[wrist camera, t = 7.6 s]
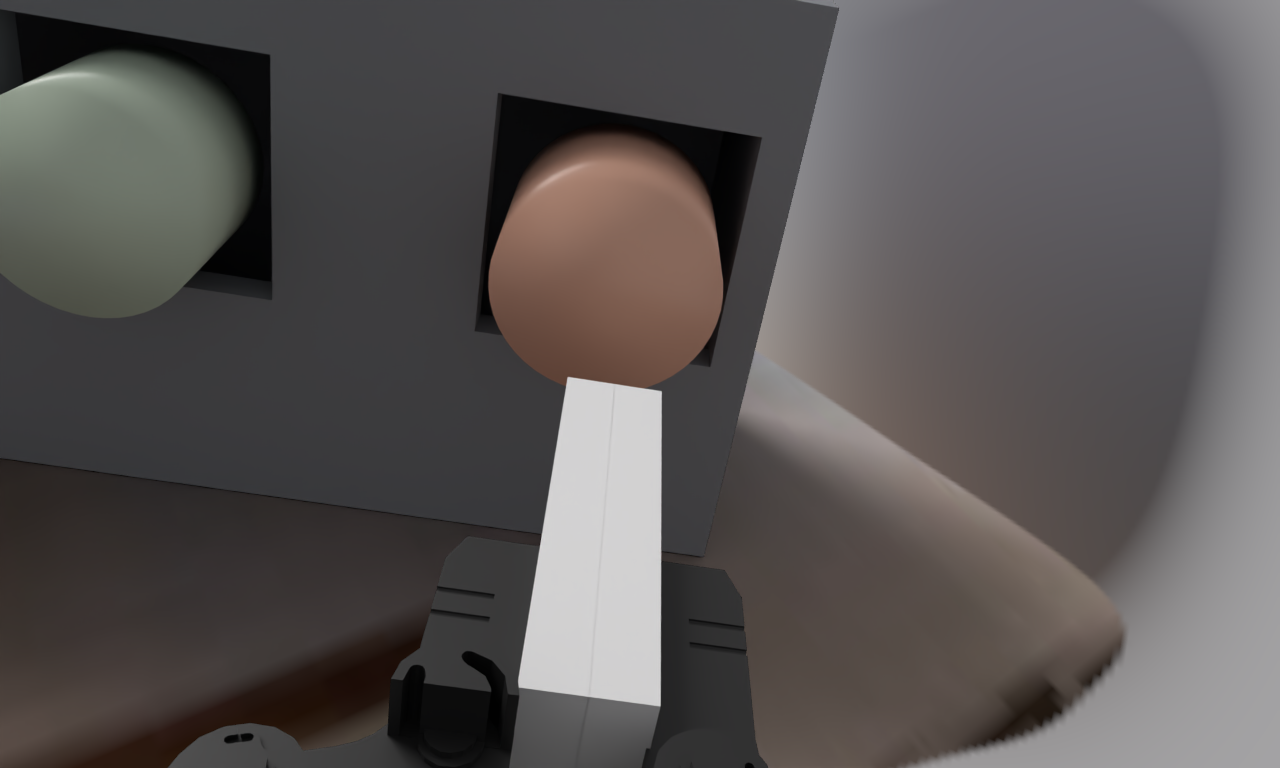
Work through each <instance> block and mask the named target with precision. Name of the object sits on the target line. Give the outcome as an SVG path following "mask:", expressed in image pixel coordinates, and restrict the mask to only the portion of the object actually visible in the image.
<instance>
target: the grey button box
mask: <svg viewBox="0 0 1280 768" xmlns="http://www.w3.org/2000/svg"><path fill="white" fill-rule="evenodd" d="M838 11H839V7H838V6H837V5H836V3H834V1H833V0H0V95H1V94H4V93H6V92H8V91H10V90H12V89H14V88H16V87H19V86H21V85H23V84H25V83H27V82H29V81H32V80H34V79H36V78H38V77H40V76H42V75H44V74H47V73H49V72H51V71H53V70H55V69H57V68H60V67H62V66H64V65H66V64H68V63H70V62H72V61H75V60H77V59H79V58H81V57H83V56H85V55H88V54H90V53H92V52H94V51H96V50H99V49H102V48H105V47H108V46H112V45H118V44H129V43H139V44H149V45H155V46H159V47H163V48H167V49H170V50H172V51H175V52H178V53H181V54H183V55H185V56H187V57H189V58H191V59H193V60H195V61H196V62H198V63H199V64H201V65H202V66H204V67H206V68H207V69H208V70H210V71H211V72H212V73H213V74H215V75H216V76H217V77H218V78H220V79H221V80H222V81H223V82H224V83H225V84H226V85H227V86H228V87H229V88H230V89H231V91H232V92H233V93H234V94H235V96H236V97H237V98H238V99H239V100H240V102H241V103H242V105H243V106H244V108H245V110H246V111H247V113H248V114H249V116H250V118H251V120H252V122H253V125H254V127H255V129H256V132H257V135H258V138H259V140H260V145H261V149H262V154H263V165H264V172H263V183H262V188H261V193H260V195H259V198H258V201H257V204H256V206H255V207H254V209H253V211H252V213H251V214H250V216H249V217H248V218H247V219H246V221H245V222H244V223H243V224H242V225H241V226H240V227H239V229H238V230H237V231H236V232H235V233H234V234H233V235H232V236H231V237H230V238H229V239H228V240H227V241H226V242H225V243H224V244H223V245H222V246H221V247H220V248H219V249H218V250H217V251H216V253H215V254H214V255H213V256H212V257H211V258H210V259H209V260H208V261H207V262H206V263H205V264H204V265H203V266H202V267H201V268H200V269H199V270H198V271H197V272H196V273H195V274H194V276H193V277H192V278H191V279H190V280H189V281H188V282H187V283H186V284H185V285H184V286H183V287H182V288H181V289H180V290H179V291H178V292H177V293H176V294H175V295H174V296H173V297H171V298H170V299H169V300H168V301H166V302H165V303H163V304H162V305H160V306H158V307H156V308H154V309H152V310H150V311H147V312H145V313H141V314H138V315H134V316H129V317H122V318H96V317H87V316H82V315H77V314H73V313H70V312H67V311H63V310H60V309H57V308H55V307H53V306H50V305H48V304H46V303H43V302H41V301H40V300H38V299H36V298H34V297H32V296H31V295H29V294H27V293H26V292H24V291H23V290H21V289H20V288H18V287H17V286H15V285H14V284H13V283H12V282H10V281H9V280H8V279H7V278H6V277H4V276H3V275H2V274H1V273H0V458H4V459H11V460H19V461H26V462H33V463H40V464H47V465H54V466H61V467H68V468H75V469H83V470H90V471H97V472H104V473H111V474H118V475H125V476H132V477H139V478H147V479H154V480H161V481H168V482H175V483H182V484H189V485H196V486H203V487H211V488H218V489H225V490H232V491H239V492H246V493H253V494H260V495H267V496H275V497H282V498H289V499H296V500H303V501H310V502H317V503H324V504H331V505H339V506H346V507H353V508H360V509H367V510H374V511H381V512H388V513H395V514H403V515H410V516H417V517H424V518H431V519H438V520H445V521H452V522H459V523H467V524H474V525H481V526H488V527H495V528H502V529H509V530H516V531H523V532H531V533H538V534H542V531H543V525H544V519H545V513H546V507H547V501H548V495H549V489H550V483H551V476H552V470H553V464H554V458H555V452H556V446H557V440H558V434H559V427H560V421H561V415H562V409H563V403H564V397H565V391H566V386H564V385H561V384H559V383H557V382H555V381H553V380H550V379H548V378H547V377H545V376H543V375H542V374H540V373H538V372H537V371H535V370H534V369H533V368H532V367H530V366H529V365H528V364H527V363H525V362H524V361H523V360H522V359H521V358H520V357H519V356H518V355H517V354H516V353H515V352H514V350H513V349H512V348H511V347H510V345H509V344H508V343H507V341H506V340H505V338H504V336H503V335H502V333H501V331H500V329H499V327H498V325H497V323H496V320H495V318H494V315H493V312H492V308H491V304H490V298H489V289H488V282H489V269H490V264H491V259H492V256H493V253H494V250H495V247H496V244H497V241H498V238H499V235H500V232H501V230H502V227H503V224H504V221H505V218H506V216H507V213H508V210H509V207H510V204H511V202H512V199H513V196H514V193H515V190H516V188H517V185H518V182H519V180H520V178H521V176H522V174H523V172H524V171H525V169H526V168H527V166H528V165H529V163H530V162H531V161H532V160H533V158H534V157H535V156H536V155H537V154H538V153H539V152H540V151H541V150H542V149H543V148H545V147H546V146H547V145H548V144H549V143H551V142H552V141H554V140H555V139H557V138H559V137H560V136H562V135H564V134H566V133H569V132H571V131H573V130H576V129H579V128H582V127H586V126H591V125H597V124H613V123H615V124H625V125H632V126H636V127H640V128H644V129H646V130H649V131H652V132H654V133H656V134H658V135H660V136H662V137H664V138H666V139H668V140H669V141H670V142H672V143H673V144H675V145H676V146H677V147H679V148H680V149H681V150H682V151H683V152H684V153H685V154H686V155H687V156H688V157H689V158H690V159H691V160H692V161H693V163H694V164H695V165H696V166H697V168H698V169H699V171H700V173H701V174H702V176H703V178H704V180H705V182H706V184H707V186H708V189H709V191H710V195H711V199H712V202H713V209H714V216H715V224H716V231H717V239H718V247H719V254H720V262H721V270H722V277H723V299H722V306H721V311H720V315H719V318H718V321H717V324H716V326H715V328H714V331H713V333H712V335H711V337H710V338H709V340H708V342H707V343H706V345H705V346H704V348H703V349H702V350H701V351H700V352H699V354H698V355H697V356H696V357H695V358H694V359H693V360H692V361H691V362H690V363H689V364H688V365H687V366H686V367H684V368H683V369H682V370H680V371H679V372H677V373H676V374H674V375H673V376H671V377H669V378H668V379H666V380H664V381H662V382H660V383H657V384H655V385H652V386H650V387H647V388H644V389H650V390H657V391H662V439H661V551H666V552H673V553H680V554H687V555H694V556H701V557H704V554H705V550H706V546H707V541H708V537H709V533H710V529H711V525H712V521H713V517H714V513H715V509H716V505H717V501H718V497H719V493H720V489H721V485H722V481H723V477H724V473H725V469H726V465H727V461H728V457H729V452H730V448H731V444H732V440H733V436H734V432H735V428H736V424H737V420H738V416H739V412H740V408H741V404H742V400H743V396H744V392H745V388H746V384H747V380H748V376H749V372H750V367H751V363H752V359H753V355H754V351H755V347H756V343H757V339H758V335H759V331H760V327H761V323H762V319H763V315H764V311H765V307H766V303H767V299H768V295H769V290H770V286H771V283H772V278H773V274H774V270H775V266H776V262H777V258H778V254H779V250H780V246H781V242H782V238H783V234H784V229H785V226H786V222H787V218H788V213H789V210H790V205H791V202H792V198H793V193H794V189H795V185H796V181H797V177H798V173H799V169H800V165H801V161H802V157H803V153H804V149H805V145H806V141H807V137H808V133H809V129H810V125H811V121H812V116H813V113H814V109H815V104H816V100H817V96H818V92H819V88H820V84H821V80H822V76H823V72H824V68H825V64H826V59H827V56H828V52H829V48H830V44H831V39H832V36H833V32H834V28H835V24H836V20H837V15H838Z"/></svg>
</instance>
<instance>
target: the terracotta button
mask: <svg viewBox="0 0 1280 768" xmlns="http://www.w3.org/2000/svg"><path fill="white" fill-rule="evenodd" d="M488 289H489V298H490V304H491V308H492V312H493V315H494V318H495V320H496V323H497V325H498V327H499V329H500V331H501V333H502V335H503V336H504V338H505V340H506V341H507V343H508V344H509V345H510V347H511V348H512V349H513V350H514V352H515V353H516V354H517V355H518V356H519V357H520V358H521V359H522V360H523V361H524V362H525V363H527V364H528V365H529V366H530V367H532V368H533V369H534V370H535V371H537V372H538V373H540V374H542V375H543V376H545V377H547V378H548V379H550V380H553V381H555V382H557V383H559V384H561V385H564V386H566V385H567V379H568V377H572V378H578V379H585V380H591V381H598V382H604V383H611V384H617V385H624V386H630V387H637V388H647V387H650V386H652V385H655V384H657V383H660V382H662V381H664V380H666V379H668V378H669V377H671V376H673V375H674V374H676V373H677V372H679V371H680V370H682V369H683V368H684V367H686V366H687V365H688V364H689V363H690V362H691V361H692V360H693V359H694V358H695V357H696V356H697V355H698V354H699V352H700V351H701V350H702V349H703V348H704V346H705V345H706V343H707V342H708V340H709V338H710V337H711V335H712V333H713V331H714V328H715V326H716V324H717V321H718V318H719V315H720V311H721V306H722V299H723V277H722V270H721V262H720V254H719V247H718V239H717V231H716V224H715V216H714V209H713V202H712V199H711V195H710V191H709V189H708V186H707V184H706V182H705V180H704V178H703V176H702V174H701V173H700V171H699V169H698V168H697V166H696V165H695V164H694V163H693V161H692V160H691V159H690V158H689V157H688V156H687V155H686V154H685V153H684V152H683V151H682V150H681V149H680V148H679V147H677V146H676V145H675V144H673V143H672V142H670V141H669V140H668V139H666V138H664V137H662V136H660V135H658V134H656V133H654V132H652V131H649V130H646V129H644V128H640V127H636V126H632V125H625V124H615V123H613V124H597V125H591V126H586V127H582V128H579V129H576V130H573V131H571V132H569V133H566V134H564V135H562V136H560V137H559V138H557V139H555V140H554V141H552V142H551V143H549V144H548V145H547V146H546V147H545V148H543V149H542V150H541V151H540V152H539V153H538V154H537V155H536V156H535V157H534V158H533V160H532V161H531V162H530V163H529V165H528V166H527V168H526V169H525V171H524V172H523V174H522V176H521V178H520V180H519V182H518V185H517V188H516V190H515V193H514V196H513V199H512V202H511V204H510V207H509V210H508V213H507V216H506V218H505V221H504V224H503V227H502V230H501V232H500V235H499V238H498V241H497V244H496V247H495V250H494V253H493V256H492V259H491V264H490V269H489V282H488Z"/></svg>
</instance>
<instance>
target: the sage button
mask: <svg viewBox="0 0 1280 768" xmlns="http://www.w3.org/2000/svg"><path fill="white" fill-rule="evenodd" d="M263 172H264V165H263V154H262V149H261V145H260V140H259V138H258V135H257V132H256V129H255V127H254V125H253V122H252V120H251V118H250V116H249V114H248V113H247V111H246V110H245V108H244V106H243V105H242V103H241V102H240V100H239V99H238V98H237V97H236V96H235V94H234V93H233V92H232V91H231V89H230V88H229V87H228V86H227V85H226V84H225V83H224V82H223V81H222V80H221V79H220V78H218V77H217V76H216V75H215V74H213V73H212V72H211V71H210V70H208V69H207V68H206V67H204V66H202V65H201V64H199V63H198V62H196V61H195V60H193V59H191V58H189V57H187V56H185V55H183V54H181V53H178V52H175V51H172V50H170V49H167V48H163V47H159V46H155V45H149V44H139V43H129V44H118V45H112V46H108V47H105V48H102V49H99V50H96V51H94V52H92V53H90V54H88V55H85V56H83V57H81V58H79V59H77V60H75V61H72V62H70V63H68V64H66V65H64V66H62V67H60V68H57V69H55V70H53V71H51V72H49V73H47V74H44V75H42V76H40V77H38V78H36V79H34V80H32V81H29V82H27V83H25V84H23V85H21V86H19V87H16V88H14V89H12V90H10V91H8V92H6V93H4V94H1V95H0V273H1V274H2V275H3V276H4V277H6V278H7V279H8V280H9V281H10V282H12V283H13V284H14V285H15V286H17V287H18V288H20V289H21V290H23V291H24V292H26V293H27V294H29V295H31V296H32V297H34V298H36V299H38V300H40V301H41V302H43V303H46V304H48V305H50V306H53V307H55V308H57V309H60V310H63V311H67V312H70V313H73V314H77V315H82V316H87V317H96V318H122V317H129V316H134V315H138V314H141V313H145V312H147V311H150V310H152V309H154V308H156V307H158V306H160V305H162V304H163V303H165V302H166V301H168V300H169V299H170V298H171V297H173V296H174V295H175V294H176V293H177V292H178V291H179V290H180V289H181V288H182V287H183V286H184V285H185V284H186V283H187V282H188V281H189V280H190V279H191V278H192V277H193V276H194V274H195V273H196V272H197V271H198V270H199V269H200V268H201V267H202V266H203V265H204V264H205V263H206V262H207V261H208V260H209V259H210V258H211V257H212V256H213V255H214V254H215V253H216V251H217V250H218V249H219V248H220V247H221V246H222V245H223V244H224V243H225V242H226V241H227V240H228V239H229V238H230V237H231V236H232V235H233V234H234V233H235V232H236V231H237V230H238V229H239V227H240V226H241V225H242V224H243V223H244V222H245V221H246V219H247V218H248V217H249V216H250V214H251V213H252V211H253V209H254V207H255V206H256V204H257V201H258V198H259V195H260V193H261V188H262V183H263Z"/></svg>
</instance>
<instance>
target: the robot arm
mask: <svg viewBox="0 0 1280 768" xmlns="http://www.w3.org/2000/svg"><path fill="white" fill-rule="evenodd" d="M661 439H662V391H657V390H650V389H644V388H637V387H630V386H624V385H617V384H611V383H604V382H598V381H591V380H585V379H578V378H572V377H568V379H567V385H566V391H565V397H564V403H563V409H562V415H561V421H560V427H559V434H558V440H557V446H556V452H555V458H554V464H553V470H552V476H551V483H550V489H549V495H548V501H547V507H546V513H545V519H544V525H543V531H542V538H541V544H540V546H535V545H528V544H521V543H514V542H507V541H500V540H493V539H486V538H479V537H472V536H467V537H466V538H465V539H464V540H463V541H462V542H461V543H460V544H459V545H458V546H457V547H456V548H455V549H454V550H453V551H452V552H451V553H450V554H449V555H448V556H447V557H446V558H445V561H444V565H443V568H442V572H441V575H440V579H439V582H438V586H437V592H436V593H435V597H434V600H433V604H432V607H431V612H430V615H429V618H428V621H427V625H426V628H425V632H424V635H423V639H422V642H421V646H420V649H418V650H416V651H415V652H414V653H412V654H411V655H409V656H408V657H407V658H405V659H404V660H402V661H401V663H400V664H399V666H398V668H397V669H396V671H395V673H394V674H393V676H392V678H391V685H390V700H389V716H388V724H387V725H385V726H384V727H382V728H381V729H380V730H378V731H377V732H376V733H374V734H372V735H369V736H367V737H365V738H363V739H361V740H358V741H355V742H351V743H347V744H343V745H339V746H333V747H326V748H319V749H312V750H305V751H303V750H302V748H301V747H300V746H299V744H298V743H297V741H296V740H295V738H293V737H292V736H290V735H288V734H286V733H285V732H283V731H281V730H279V729H278V728H276V727H271V726H265V725H259V724H253V723H247V724H240V725H233V726H225V727H222V728H220V729H217V730H215V731H213V732H211V733H208V734H206V735H204V736H201V737H199V738H198V739H197V740H195V741H194V742H193V743H192V744H191V745H190V746H188V747H187V748H186V749H185V750H184V751H182V752H181V753H180V754H179V755H178V756H177V757H176V759H175V760H174V761H173V762H172V763H171V765H170V766H169V767H168V768H768V766H767V764H766V763H765V762H764V761H763V759H762V758H761V757H760V756H759V753H758V748H757V744H756V740H755V730H754V720H753V710H752V699H751V689H750V679H749V668H748V658H747V656H746V651H747V647H746V637H745V632H744V616H743V606H742V597H741V596H740V594H739V593H738V591H737V589H736V588H735V586H734V585H733V583H732V581H731V580H730V578H729V577H728V575H727V574H726V572H725V570H720V569H713V568H706V567H699V566H692V565H685V564H678V563H671V562H664V561H661Z"/></svg>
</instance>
